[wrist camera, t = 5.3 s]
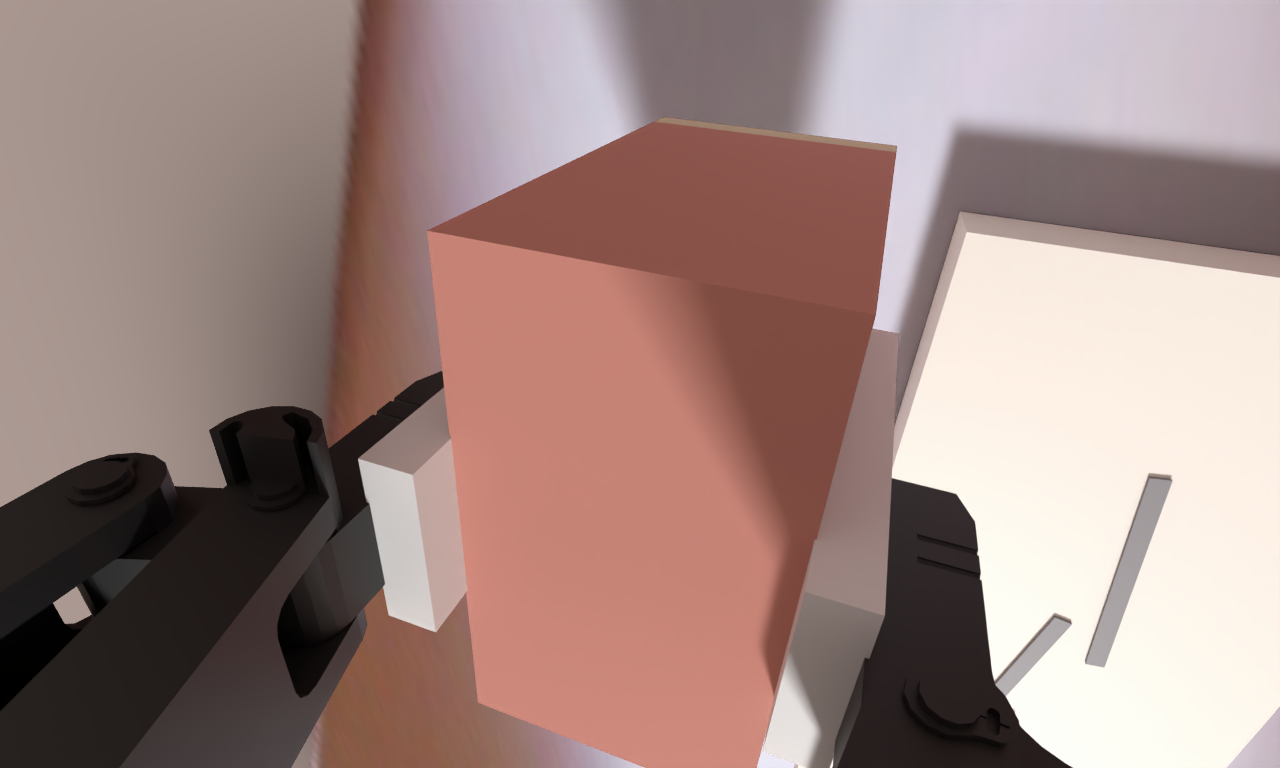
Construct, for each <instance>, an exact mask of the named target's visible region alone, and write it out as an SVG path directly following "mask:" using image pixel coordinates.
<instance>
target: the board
mask: <svg viewBox="0 0 1280 768" xmlns="http://www.w3.org/2000/svg"><path fill="white" fill-rule="evenodd" d="M892 478H894V479H898V480H902V481H906V482H910V483H914V484H918V485H922V486H927V487H931V488H935V489H939V490H943V491H947V492H951V493H955V494H957V496H958V497H959V499H960V500H961V501H962V503H963V504H964V506H965V507H966V509H967V510H968V512H969V513H970V515H971V516H972V518H973V519H974V521H975V525H976V534H977V543H978V553H977V555H978V556H979V560H980V569H981V575H980V580H982V587H983V596H984V605H985V613H986V622H987V631H988V640H989V649H990V658H991V667H992V674H993V677H994V681H995V685H996V686H997V687H998V688H999V689H1000V690H1001V692H1002V693H1003V694H1004V695H1005V696H1006V698H1007V699H1008V701H1009V703H1010V705H1011V707H1012V709H1013V711H1014V713H1015V715H1016V716H1017V718H1018V720H1019V725H1020V726H1021V727H1022V729H1024V730H1025V731H1026V732H1027V733H1028V734H1029V735H1030V736H1031V737H1032V738H1033V739H1034V740H1035V741H1036V742H1037V743H1038V744H1040V745H1041V746H1042V747H1043V748H1045V749H1046V750H1047V751H1049V752H1050V753H1052V754H1053V755H1055V756H1056V757H1057V758H1059V759H1060V760H1062V761H1063V762H1064V763H1066V764H1068V765H1069V766H1071V767H1073V768H1226V767H1227V766H1228V765H1229V764H1230V763H1231V762H1232V761H1233V759H1234V758H1235V757H1236V756H1237V755H1238V754H1239V752H1240V751H1241V750H1242V749H1243V748H1244V747H1245V746H1246V744H1247V743H1248V742H1249V741H1250V740H1251V739H1252V738H1253V736H1254V735H1255V734H1256V733H1257V732H1258V731H1259V730H1260V728H1261V727H1262V726H1263V725H1264V724H1265V723H1266V721H1267V720H1268V719H1269V718H1270V717H1271V716H1272V715H1273V713H1274V712H1275V711H1276V710H1277V709H1278V708H1279V707H1280V256H1276V255H1269V254H1261V253H1254V252H1247V251H1240V250H1233V249H1226V248H1218V247H1211V246H1204V245H1197V244H1190V243H1183V242H1175V241H1168V240H1161V239H1154V238H1147V237H1140V236H1132V235H1125V234H1118V233H1111V232H1104V231H1097V230H1089V229H1082V228H1075V227H1068V226H1061V225H1054V224H1046V223H1039V222H1032V221H1025V220H1018V219H1011V218H1003V217H996V216H989V215H982V214H975V213H967V212H960V213H959V216H958V220H957V223H956V226H955V229H954V233H953V236H952V239H951V243H950V246H949V249H948V252H947V256H946V259H945V262H944V266H943V269H942V272H941V275H940V279H939V282H938V285H937V288H936V292H935V295H934V298H933V302H932V305H931V308H930V311H929V315H928V318H927V321H926V325H925V328H924V331H923V334H922V338H921V341H920V344H919V348H918V351H917V354H916V357H915V361H914V364H913V367H912V370H911V374H910V377H909V380H908V384H907V387H906V390H905V393H904V397H903V400H902V403H901V407H900V410H899V413H898V416H897V420H896V423H895V426H894V444H893V464H892ZM832 767H833V760H832V763H831V766H830V768H832ZM794 768H806V767H803V766H801V765H798V764H795V766H794Z"/></svg>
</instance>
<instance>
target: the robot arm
mask: <svg viewBox="0 0 1280 768" xmlns="http://www.w3.org/2000/svg"><path fill="white" fill-rule="evenodd" d="M898 344H899V334H898V333H893V332H888V331H882V330H877V329H872V331H871V335H870V339H869V343H868V346H867V350H866V354H865V358H864V362H863V365H862V369H861V373H860V377H859V381H858V384H857V388H856V392H855V396H854V400H853V403H852V407H851V411H850V415H849V419H848V422H847V426H846V430H845V434H844V438H843V441H842V445H841V449H840V453H839V457H838V460H837V464H836V468H835V472H834V476H833V479H832V483H831V487H830V491H829V495H828V498H827V502H826V506H825V510H824V514H823V517H822V521H821V525H820V529H819V533H818V536H817V540H816V539H815V540H814V544H813V548H812V552H811V555H810V559H809V563H808V567H807V571H806V575H805V578H804V582H803V586H802V590H801V594H800V598H799V601H798V605H797V609H796V613H795V617H794V621H793V624H792V628H791V632H790V636H789V640H788V644H787V647H786V651H785V655H784V659H783V663H782V667H781V670H780V674H779V678H778V682H777V686H776V690H775V694H774V698H773V703H772V708H771V713H770V718H769V723H768V727H767V732H766V737H765V742H764V747H763V752H765V753H768V754H771V755H773V756H776V757H779V758H782V759H784V760H787V761H790V762H792V763H795V764H798V765H801V766H803V767H806V768H830V766H831V763H832V760H833V767H832V768H1073V767H1071V766H1069V765H1068V764H1066V763H1064V762H1063V761H1062V760H1060V759H1059V758H1057V757H1056V756H1055V755H1053V754H1052V753H1050V752H1049V751H1047V750H1046V749H1045V748H1043V747H1042V746H1041V745H1040V744H1038V743H1037V742H1036V741H1035V740H1034V739H1033V738H1032V737H1031V736H1030V735H1029V734H1028V733H1027V732H1026V731H1025V730H1024V729H1022V727H1021V726H1020V725H1019V720H1018V718H1017V716H1016V715H1015V713H1014V711H1013V709H1012V707H1011V705H1010V703H1009V701H1008V699H1007V698H1006V696H1005V695H1004V694H1003V693H1002V692H1001V690H1000V689H999V688H998V687H997V686H996V685H995V681H994V677H993V674H992V667H991V658H990V649H989V640H988V631H987V622H986V613H985V605H984V596H983V587H982V580H980V575H981V569H980V560H979V556H978V555H977V553H978V543H977V534H976V525H975V521H974V519H973V518H972V516H971V515H970V513H969V512H968V510H967V509H966V507H965V506H964V504H963V503H962V501H961V500H960V499H959V497H958V496H957V494H955V493H951V492H947V491H943V490H939V489H935V488H931V487H927V486H922V485H918V484H914V483H910V482H906V481H902V480H898V479H894V478H892V464H893V444H894V424H895V404H896V384H897V364H898ZM209 431H210V434H211V437H212V440H213V443H214V446H215V450H216V453H217V456H218V459H219V462H220V465H221V468H222V470H223V474H224V477H225V480H226V483H227V486H226V487H224V488H204V487H178V486H177V487H176V486H174V484H173V482H172V479H171V476H170V474H169V471H168V469H167V466H166V463H165V462H163V461H162V460H160V459H159V458H157V457H156V456H154V455H148V454H141V453H127V454H115V455H108V456H105V457H102V458H99V459H95V460H91V461H88V462H86V463H83V464H81V465H79V466H77V467H74V468H72V469H70V470H68V471H65V472H64V473H62V474H60V475H58V476H56V477H54V478H53V479H51V480H49V481H47V482H45V483H44V484H42V485H40V486H38V487H36V488H35V489H33V490H31V491H29V492H27V493H25V494H24V495H22V496H20V497H18V498H17V499H15V500H13V501H11V502H9V503H7V504H5V505H4V506H2V507H0V768H291V767H292V765H293V763H294V761H295V760H296V758H297V756H298V754H299V753H300V751H301V749H302V747H303V745H304V744H305V742H306V740H307V738H308V736H309V735H310V733H311V731H312V729H313V727H314V726H315V724H316V722H317V720H318V718H319V717H320V715H321V713H322V711H323V710H324V708H325V706H326V704H327V702H328V701H329V699H330V697H331V695H332V693H333V692H334V690H335V688H336V686H337V684H338V683H339V681H340V679H341V677H342V676H343V674H344V672H345V670H346V668H347V667H348V665H349V663H350V661H351V659H352V658H353V656H354V654H355V652H356V650H357V649H358V647H359V645H360V643H361V641H362V640H363V637H364V634H365V630H366V627H367V621H366V616H365V611H364V607H365V606H366V605H367V604H368V603H369V601H370V600H371V599H372V598H373V597H374V596H375V595H376V594H377V593H378V591H379V590H380V589H381V588H382V587H383V588H384V593H385V598H386V603H387V609H388V614H389V615H390V616H392V617H395V618H398V619H401V620H403V621H406V622H409V623H412V624H414V625H417V626H420V627H423V628H425V629H428V630H431V631H433V632H436V631H437V630H438V629H439V627H440V626H441V625H442V624H443V622H444V621H445V620H446V618H447V617H448V616H449V614H450V613H451V612H452V610H453V609H454V608H455V606H456V605H457V604H458V602H459V601H460V600H461V598H462V597H463V596H464V594H465V593H466V592H467V582H466V573H465V563H464V554H463V545H462V535H461V526H460V516H459V507H458V498H457V488H456V479H455V470H454V460H453V451H452V442H451V438H450V437H449V427H448V418H447V409H446V400H445V390H444V381H443V372H442V371H441V372H438V373H436V374H433V375H431V376H428V377H426V378H423V379H421V380H418V381H416V382H414V383H413V384H412V385H410V386H409V387H408V388H407V389H405V390H404V391H403V392H401V393H400V394H399V395H398V396H396V397H395V399H394V401H393V402H392V401H390V402H388V403H387V404H386V405H385V406H383V407H382V408H381V409H379V410H378V411H377V414H376V415H372V416H370V417H369V418H368V419H366V420H365V421H364V422H362V423H361V424H360V425H359V426H357V427H356V428H355V429H353V430H352V431H351V432H349V433H348V434H347V435H346V436H344V437H343V438H342V439H340V440H339V441H338V442H337V443H335V444H334V445H333V446H331V447H330V448H329V449H328V446H327V441H326V437H325V432H324V428H323V423H322V419H321V418H320V417H318V416H317V415H316V414H314V413H313V412H312V411H309V410H306V409H302V408H298V407H294V406H271V407H266V408H260V409H255V410H250V411H247V412H244V413H241V414H239V415H236V416H233V417H231V418H228V419H226V420H224V421H223V422H221V423H220V424H218V425H217V426H215V427H214V428H212V429H210V430H209ZM76 586H77V588H78V589H79V591H80V593H81V595H82V597H83V599H84V601H85V603H86V604H87V606H88V608H89V610H90V612H91V614H92V615H90V616H89V617H87V618H85V619H83V620H81V621H79V622H77V623H74V624H65V623H64V622H63V620H62V618H61V617H60V615H59V613H58V611H57V610H56V608H55V606H54V604H53V602H55V601H56V600H58V599H59V598H60V597H62V596H63V595H65V594H66V593H68V592H69V591H70V590H72V589H73V588H75V587H76Z"/></svg>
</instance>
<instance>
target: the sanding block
mask: <svg viewBox="0 0 1280 768" xmlns="http://www.w3.org/2000/svg"><path fill="white" fill-rule="evenodd" d="M896 150H897V146H894V145H886V144H878V143H869V142H861V141H853V140H845V139H837V138H829V137H821V136H813V135H805V134H797V133H789V132H781V131H773V130H765V129H757V128H748V127H740V126H732V125H724V124H716V123H708V122H700V121H692V120H684V119H676V118H668V117H663V118H661V119H659V120H656V121H654V122H652V123H650V124H648V125H646V126H644V127H642V128H640V129H638V130H636V131H634V132H631V133H629V134H627V135H625V136H623V137H621V138H619V139H617V140H615V141H613V142H611V143H609V144H607V145H604V146H602V147H600V148H598V149H596V150H594V151H592V152H590V153H588V154H586V155H584V156H582V157H579V158H577V159H575V160H573V161H571V162H569V163H567V164H565V165H563V166H561V167H559V168H557V169H555V170H552V171H550V172H548V173H546V174H544V175H542V176H540V177H538V178H536V179H534V180H532V181H530V182H528V183H525V184H523V185H521V186H519V187H517V188H515V189H513V190H511V191H509V192H507V193H505V194H503V195H500V196H498V197H496V198H494V199H492V200H490V201H488V202H486V203H484V204H482V205H480V206H478V207H476V208H473V209H471V210H469V211H467V212H465V213H463V214H461V215H459V216H457V217H455V218H453V219H451V220H448V221H446V222H444V223H442V224H440V225H438V226H436V227H434V228H432V229H430V230H428V231H427V233H428V242H429V252H430V261H431V270H432V279H433V289H434V298H435V307H436V316H437V326H438V335H439V344H440V353H441V363H442V372H443V381H444V390H445V400H446V409H447V418H448V427H449V437H450V438H451V442H452V451H453V460H454V470H455V479H456V488H457V498H458V507H459V516H460V526H461V535H462V545H463V554H464V563H465V573H466V582H467V592H466V594H467V603H468V613H469V622H470V631H471V640H472V650H473V659H474V668H475V677H476V687H477V696H478V703H481V704H483V705H486V706H488V707H491V708H493V709H496V710H499V711H501V712H504V713H506V714H509V715H511V716H514V717H516V718H519V719H522V720H524V721H527V722H529V723H532V724H534V725H537V726H540V727H542V728H545V729H547V730H550V731H552V732H555V733H558V734H560V735H563V736H565V737H568V738H570V739H573V740H575V741H578V742H581V743H583V744H586V745H588V746H591V747H593V748H596V749H599V750H601V751H604V752H606V753H609V754H611V755H614V756H617V757H619V758H622V759H624V760H627V761H629V762H632V763H634V764H637V765H640V766H642V767H645V768H757V764H758V761H759V757H760V753H761V749H762V745H763V742H764V738H765V734H766V730H767V726H768V723H769V718H770V713H771V708H772V703H773V698H774V694H775V690H776V686H777V682H778V678H779V674H780V670H781V667H782V663H783V659H784V655H785V651H786V647H787V644H788V640H789V636H790V632H791V628H792V624H793V621H794V617H795V613H796V609H797V605H798V601H799V598H800V594H801V590H802V586H803V582H804V578H805V575H806V571H807V567H808V563H809V559H810V555H811V552H812V548H813V544H814V540H815V539H816V540H817V536H818V533H819V529H820V525H821V521H822V517H823V514H824V510H825V506H826V502H827V498H828V495H829V491H830V487H831V483H832V479H833V476H834V472H835V468H836V464H837V460H838V457H839V453H840V449H841V445H842V441H843V438H844V434H845V430H846V426H847V422H848V419H849V415H850V411H851V407H852V403H853V400H854V396H855V392H856V388H857V384H858V381H859V377H860V373H861V369H862V365H863V362H864V358H865V354H866V350H867V346H868V343H869V339H870V335H871V331H872V327H873V324H874V320H875V316H876V309H877V301H878V293H879V285H880V277H881V269H882V262H883V254H884V246H885V238H886V230H887V222H888V214H889V206H890V198H891V190H892V182H893V174H894V166H895V158H896Z"/></svg>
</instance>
